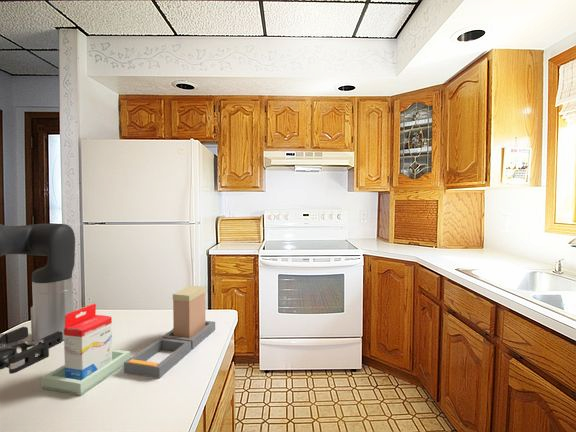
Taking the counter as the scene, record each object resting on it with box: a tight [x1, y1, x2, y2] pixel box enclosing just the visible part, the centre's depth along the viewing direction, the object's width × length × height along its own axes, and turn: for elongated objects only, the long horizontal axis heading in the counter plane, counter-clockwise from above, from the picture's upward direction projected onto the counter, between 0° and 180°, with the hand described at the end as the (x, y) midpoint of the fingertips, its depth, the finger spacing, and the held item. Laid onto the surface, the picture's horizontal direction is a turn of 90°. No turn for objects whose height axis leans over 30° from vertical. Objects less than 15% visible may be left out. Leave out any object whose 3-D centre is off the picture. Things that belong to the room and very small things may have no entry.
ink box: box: [63, 303, 113, 380], centre depth 71 cm, size 8×5×15 cm, turn 167°
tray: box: [41, 348, 131, 396], centre depth 71 cm, size 10×14×2 cm
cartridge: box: [172, 285, 207, 338], centre depth 91 cm, size 5×9×14 cm, turn 167°
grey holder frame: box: [123, 320, 216, 379], centre depth 84 cm, size 9×27×3 cm, turn 167°
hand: (43, 333), depth 61 cm, fingers open, 8 cm apart
